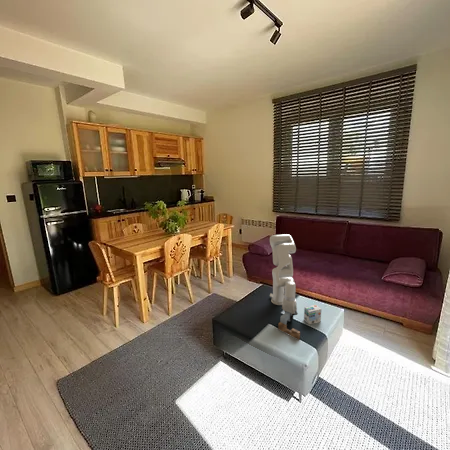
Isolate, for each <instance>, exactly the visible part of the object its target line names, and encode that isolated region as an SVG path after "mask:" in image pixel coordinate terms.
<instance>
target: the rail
mask: <svg viewBox="0 0 450 450" xmlns="http://www.w3.org/2000/svg"><path fill="white" fill-rule="evenodd" d="M277 326H278V328H277V329H278V330H279V331H281V332H283V333H285V334H286V335H288V334H289V336H290V335H291V336H290V337H292V338H295V339H297V340H298V341H299V340H300V339H301V331H299V330H298V329H296V328H291V329H289V328H288V327H287V326H288V324H286V325H285V324H283V323H281V322H280V321H279V322H278V325H277Z"/></svg>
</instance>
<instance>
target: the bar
mask: <svg viewBox="0 0 450 450" xmlns="http://www.w3.org/2000/svg"><path fill="white" fill-rule="evenodd" d="M290 316H291V313H289V312H286V313H285V312H284V313H283V314H282V315H281V316H280V318H279V319H280V321H279V322H281V323H283V324H285V325H288V324H287V323H288V322H289V323H290V322H291V321H290Z"/></svg>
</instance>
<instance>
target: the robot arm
mask: <svg viewBox="0 0 450 450" xmlns="http://www.w3.org/2000/svg"><path fill="white" fill-rule="evenodd" d="M269 244H270V246H271V251H272V263H273V265H274V266H276V267H274V268H273V269H272V270H271V274H272V292H270V294H269V297H270V298H271V300H270V302H271V303H272V304H273V305H277V306H282V307H281V309H282V310H283V311H284V313H286V312H289V313H291V316H290V322H291V321H293V320H294V316H297V315H298V314H299V313H298V311H297V309H298V307H297V300H296V282H295V279H294V277H293V276H294V266H293V257H292V254H295V253H296V251H297V247H296V244H295V241H294V239H293V237H292V235H290V234H287V233H286V234H285V233H284V234H283V233H282V234H274V235H271V236H270V237H269Z"/></svg>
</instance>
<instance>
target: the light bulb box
mask: <svg viewBox="0 0 450 450" xmlns="http://www.w3.org/2000/svg"><path fill="white" fill-rule="evenodd" d="M303 310H304V311H303V321H305V323H307V324H308V325H313V324H316V323H320V322H321V320H322V308H321V307H319V305H318V304H313V305H309V306H304V309H303Z"/></svg>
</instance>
